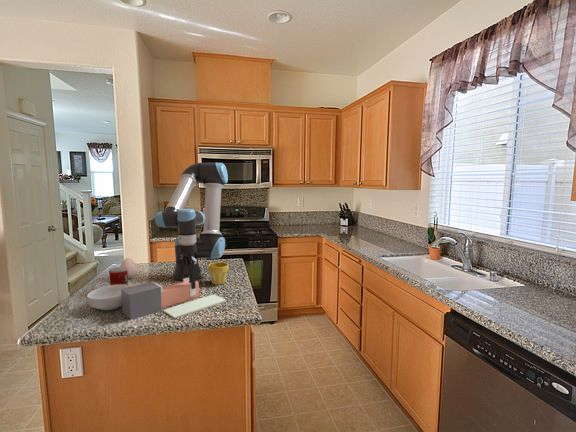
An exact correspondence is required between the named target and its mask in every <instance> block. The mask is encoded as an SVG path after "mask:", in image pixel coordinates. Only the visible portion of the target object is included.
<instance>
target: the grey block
mask: <svg viewBox="0 0 576 432" xmlns="http://www.w3.org/2000/svg"><path fill="white" fill-rule="evenodd" d="M131 286H132V287H128V288H123V289H121V296H122V306H121V307H122V314H123V313H124V314H123V315H124V316H126V317H127V318H128V317H129V318H130V319H129V318H128V319H129V320H131V319H132V320H135V319H138V317H139V318H141V316H142V317H145V316H148V315H151V313H152V314H154V313H158V312H160V311H163V310H162V309H163V308H162V306H161V293H162V292H163V287H164V286H163V285H160V284H159V283H157V282H155V281H150V282H144V283H142V284H137V285H131ZM134 318H135V319H134Z"/></svg>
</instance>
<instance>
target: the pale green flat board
mask: <svg viewBox="0 0 576 432" xmlns="http://www.w3.org/2000/svg"><path fill="white" fill-rule="evenodd" d="M226 302H227V299H226V298H223V297H221V296H219V295H217V294H209V295H208V296H204V297H201V298H196V299H195V300H191V301H188V302H185V303H181V304H178V305H174V306H171V307H168V308H165V309H163V310H162V312H163V313H165V314H167V315H168V316H170V317H171V318H173V319H179V318H181V317H184V316H188V315H191V314H193V313H196V312H199V311H202V310H205V309H208V308H210V307H213V306H216V305H219V304H222V303H226Z"/></svg>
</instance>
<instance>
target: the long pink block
mask: <svg viewBox="0 0 576 432" xmlns="http://www.w3.org/2000/svg"><path fill="white" fill-rule="evenodd" d="M189 281H190V280H189ZM189 281H186V282H183V281H182V282H179V283H175V284H171V285H167V286H162V287H163V292H162V293H161V306H162V309H163V308H167V307H169V306H173V305H174V306H175V305H177V304H180V303H183V302H186V301H190V300H193V299H198V298H199V297H200V283H199V281H196V282H195V284H196V295H193V296H190V293H189Z"/></svg>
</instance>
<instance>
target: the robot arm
mask: <svg viewBox="0 0 576 432" xmlns="http://www.w3.org/2000/svg"><path fill="white" fill-rule="evenodd" d="M228 177H229V175H228V170H227V167H226V165H225V164H224V163H223V162H196V163H193V164H191V165H189V166H187V168H185V169H184V170H183V171H182V172H181V174H180V176H179V177H178V179H179V182H178V184H177V186H176V188H175V190H174V192H173V194H172V195H171V197H170V199H169V201H168V203H167V205H166V207H165V209H164V210H161V211H158V212H156V214H155V217H154V222H155V224H156V226H157V227H158V228H177V231H178V232H177V233H178V236H177V237H176V238H175V239H174V253H175V255H174V256H175V266H174V268H173V272H172V278H173V279H174V280H175V281H182V282H186V281H189V293H190V296H193V295H196V284H195V282H196V281H197V282H199V278H200V277H201V276H202V269H201V266H200V264H199V259H211V260H212V259H220V258H222V256H223V255H224V253H225V248H226V238H225V237H223V234H222V232H221V231H220V227H221V225H220V223H221V206H222V205H221V203H222V202H221V200H222V189H224V188H225V185H226V184H227V183H228V181H229V178H228ZM198 184H202V185H203V188H205V199H204V212H202V211H200V210H195V209H192V208H185V205H186V203H187V201H188V200H189V196H190V195H191V193H192V190H193V189H194V188H195V187H196V186H197V185H198ZM201 226H203V230H202V231H201V232H200V236H197V228H199V227H201Z"/></svg>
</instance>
